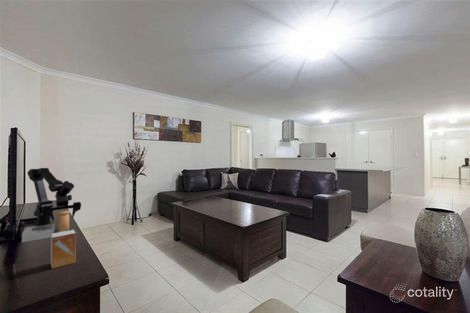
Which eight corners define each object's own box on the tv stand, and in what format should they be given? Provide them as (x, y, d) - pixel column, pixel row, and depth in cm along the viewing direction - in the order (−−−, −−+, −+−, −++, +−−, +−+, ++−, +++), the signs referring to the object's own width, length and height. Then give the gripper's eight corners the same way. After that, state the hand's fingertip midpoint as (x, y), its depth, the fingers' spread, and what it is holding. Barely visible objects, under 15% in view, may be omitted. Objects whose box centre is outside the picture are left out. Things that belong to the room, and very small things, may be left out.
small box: (51, 269, 89) (51, 237, 89) (50, 263, 93) (50, 233, 93) (76, 262, 94) (76, 232, 94) (73, 257, 99) (73, 229, 99)
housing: (21, 242, 117) (21, 234, 117) (25, 235, 127) (25, 227, 127) (53, 236, 125) (53, 229, 125) (54, 230, 135) (54, 223, 135)
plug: (55, 234, 128) (55, 212, 128) (64, 231, 134) (64, 210, 134) (64, 235, 127) (63, 213, 127) (72, 231, 133) (72, 210, 133)
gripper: (42, 192, 130) (43, 214, 122) (80, 189, 143) (83, 209, 134) (42, 203, 136) (42, 225, 128) (78, 199, 148) (81, 219, 140)
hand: (63, 219), depth 132 cm, fingers open, 9 cm apart
